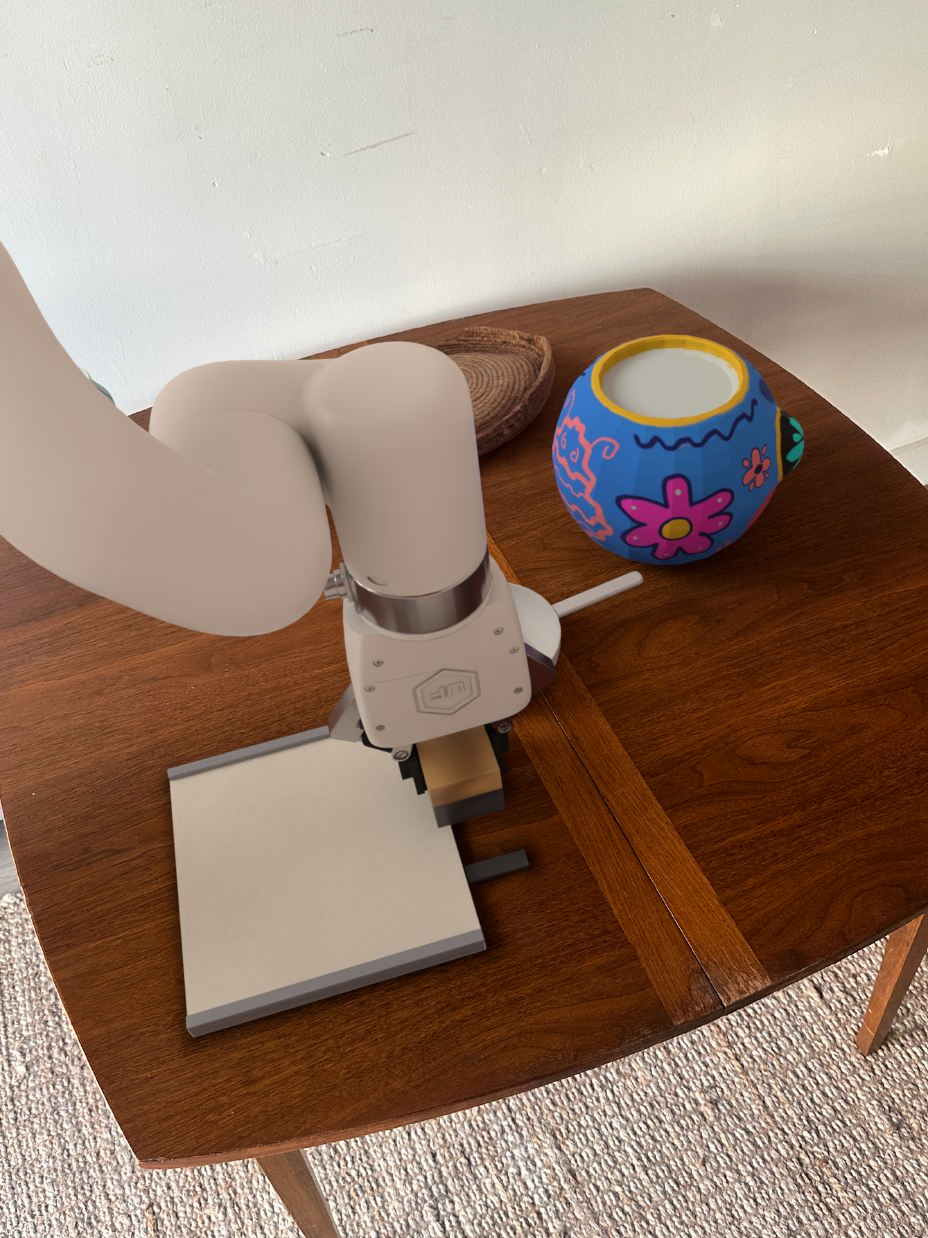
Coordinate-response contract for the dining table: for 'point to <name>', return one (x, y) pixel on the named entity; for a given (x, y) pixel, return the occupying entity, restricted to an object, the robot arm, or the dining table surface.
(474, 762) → the eraser
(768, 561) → the dining table surface
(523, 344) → the basket
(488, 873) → the block
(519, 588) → the saucepan
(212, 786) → the whiteboard
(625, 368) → the ceramic pot
